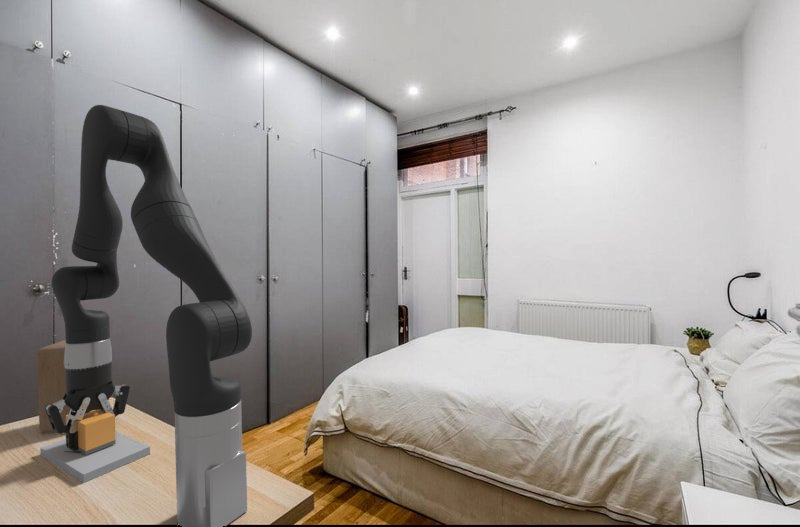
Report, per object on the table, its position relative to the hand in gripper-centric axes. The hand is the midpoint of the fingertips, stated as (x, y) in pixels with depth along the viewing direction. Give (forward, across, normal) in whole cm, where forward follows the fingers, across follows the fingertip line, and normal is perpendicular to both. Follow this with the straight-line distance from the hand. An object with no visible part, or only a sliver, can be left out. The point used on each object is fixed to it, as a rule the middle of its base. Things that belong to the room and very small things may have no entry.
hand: (91, 442), depth 76 cm
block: (+2, +4, +20) cm, 21 cm away
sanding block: (0, 0, 0) cm, 0 cm away
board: (+2, 0, -2) cm, 3 cm away
